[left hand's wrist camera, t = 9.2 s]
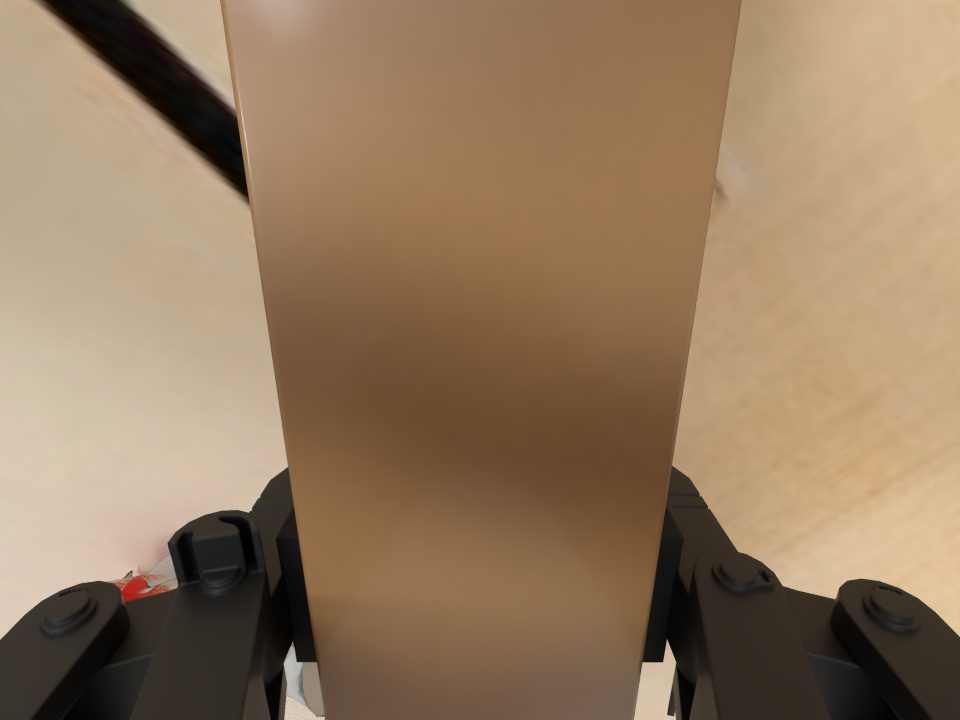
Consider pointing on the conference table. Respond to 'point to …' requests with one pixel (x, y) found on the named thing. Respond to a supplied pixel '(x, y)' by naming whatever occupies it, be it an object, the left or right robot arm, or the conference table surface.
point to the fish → (298, 674)
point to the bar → (480, 329)
